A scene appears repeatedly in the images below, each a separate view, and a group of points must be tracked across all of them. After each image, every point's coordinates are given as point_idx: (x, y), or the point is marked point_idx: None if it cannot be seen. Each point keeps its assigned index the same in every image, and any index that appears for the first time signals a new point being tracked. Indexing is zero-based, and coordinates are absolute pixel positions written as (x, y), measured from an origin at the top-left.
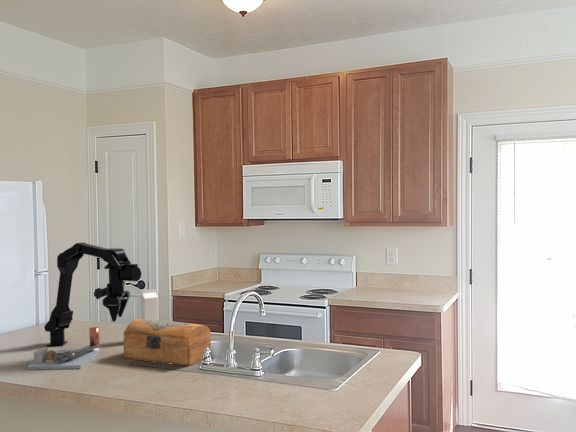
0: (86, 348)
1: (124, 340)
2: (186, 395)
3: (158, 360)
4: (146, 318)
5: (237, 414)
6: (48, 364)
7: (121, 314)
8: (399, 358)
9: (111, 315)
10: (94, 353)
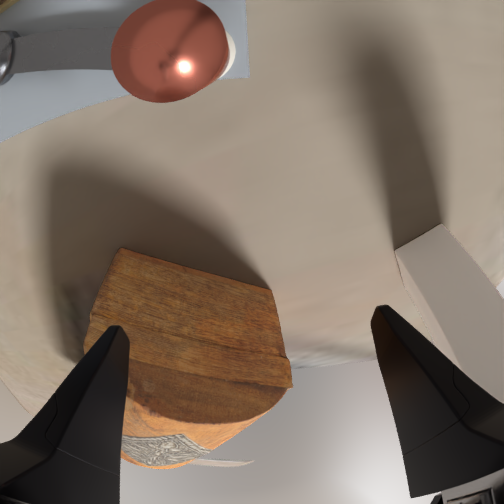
0: (82, 65)
1: (91, 311)
2: (12, 371)
3: None
4: (444, 337)
5: (13, 393)
6: None
7: (377, 344)
8: (215, 464)
9: (71, 381)
10: (120, 96)
